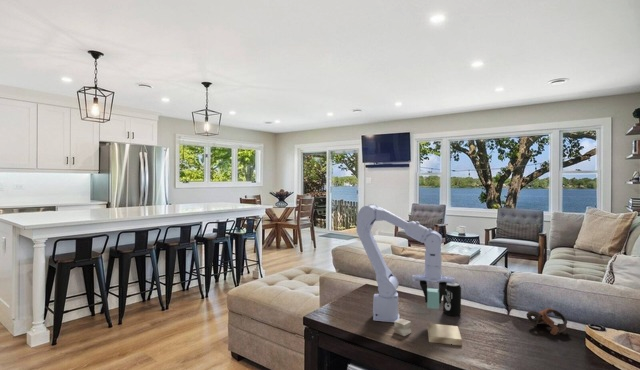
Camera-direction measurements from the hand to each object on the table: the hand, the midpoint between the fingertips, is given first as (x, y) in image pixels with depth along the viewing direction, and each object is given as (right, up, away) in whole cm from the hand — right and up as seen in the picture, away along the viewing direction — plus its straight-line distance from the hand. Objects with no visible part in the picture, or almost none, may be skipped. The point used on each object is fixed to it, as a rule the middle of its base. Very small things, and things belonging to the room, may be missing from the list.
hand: (432, 302), depth 125 cm
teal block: (0, -2, 0) cm, 2 cm away
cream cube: (-12, -9, -6) cm, 16 cm away
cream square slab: (+1, -9, -9) cm, 13 cm away
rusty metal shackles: (+39, -9, -3) cm, 40 cm away
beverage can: (+11, -8, +11) cm, 18 cm away
